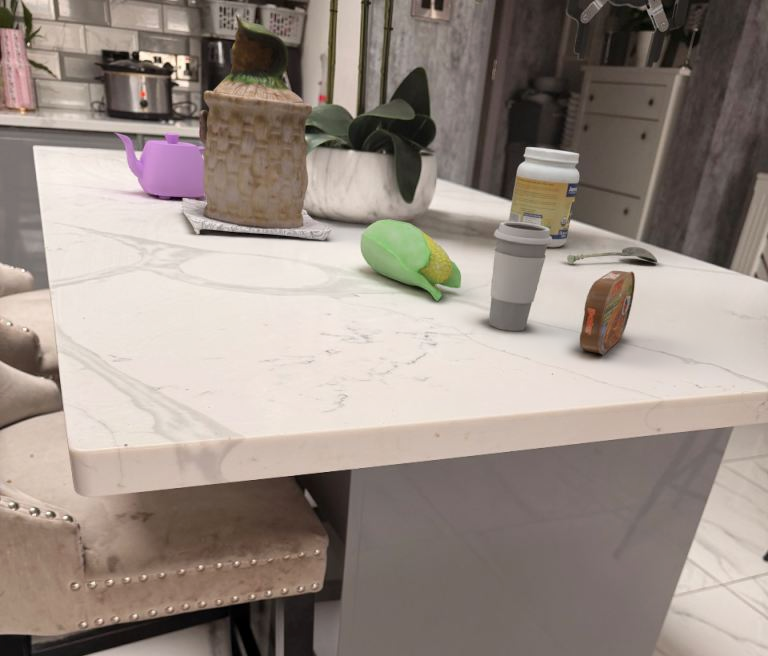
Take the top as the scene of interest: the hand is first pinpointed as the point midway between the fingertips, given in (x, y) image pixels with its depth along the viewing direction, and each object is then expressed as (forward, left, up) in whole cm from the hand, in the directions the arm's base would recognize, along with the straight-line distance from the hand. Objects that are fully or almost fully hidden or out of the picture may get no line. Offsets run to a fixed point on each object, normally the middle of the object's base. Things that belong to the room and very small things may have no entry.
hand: (614, 63), depth 96 cm
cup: (+8, +18, -30) cm, 36 cm away
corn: (+23, +2, -30) cm, 38 cm away
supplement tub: (+3, -49, -30) cm, 58 cm away
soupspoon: (-11, -37, -30) cm, 49 cm away
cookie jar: (+55, -27, -30) cm, 68 cm away
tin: (-3, +21, -30) cm, 37 cm away
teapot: (+79, -46, -30) cm, 96 cm away
